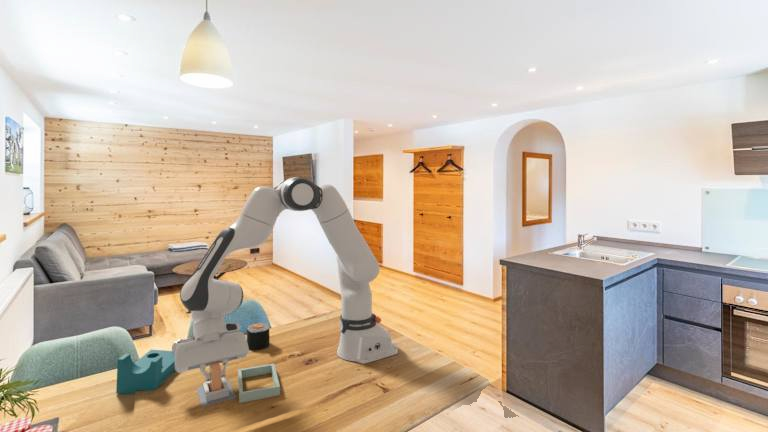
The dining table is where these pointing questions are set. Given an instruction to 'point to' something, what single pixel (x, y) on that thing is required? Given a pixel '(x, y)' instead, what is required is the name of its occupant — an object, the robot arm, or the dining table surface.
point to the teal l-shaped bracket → (144, 371)
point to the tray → (260, 392)
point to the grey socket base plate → (215, 393)
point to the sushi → (258, 336)
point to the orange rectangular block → (215, 377)
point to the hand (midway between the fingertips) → (215, 378)
